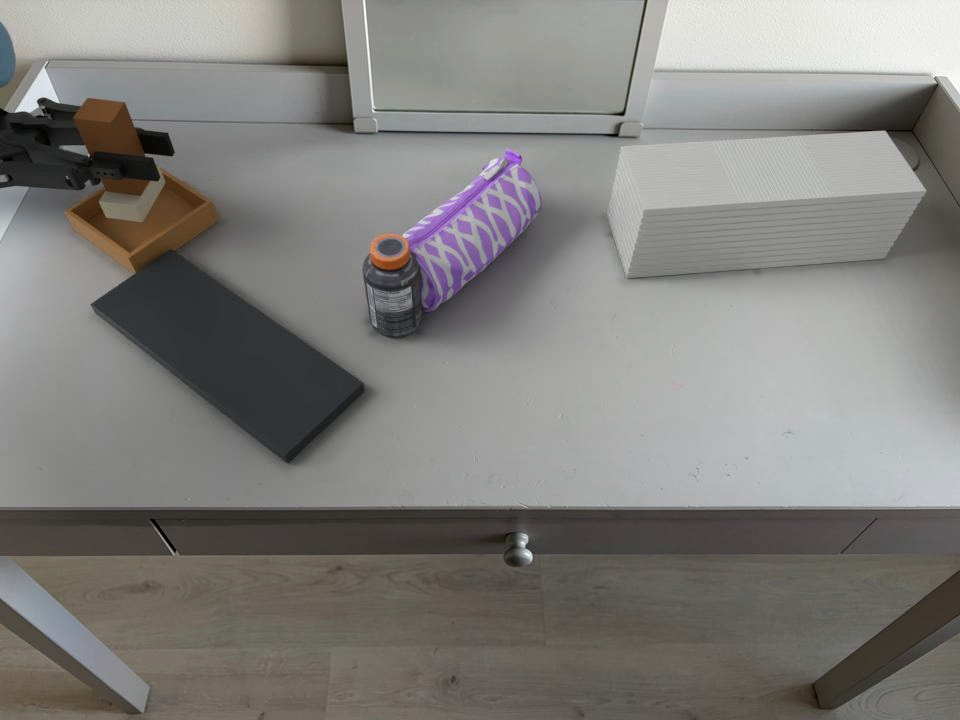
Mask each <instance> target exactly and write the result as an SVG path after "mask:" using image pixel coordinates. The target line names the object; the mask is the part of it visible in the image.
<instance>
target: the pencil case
mask: <svg viewBox="0 0 960 720" xmlns="http://www.w3.org/2000/svg"><path fill="white" fill-rule="evenodd" d="M522 162H523V156H522V154H520V153H519V152H518V151H515V150H513V149H510V148H506V149H505V154H504V156H503V157H497V158H493V159H491V160H489V161H488V162H487V163H486V165H485V166H484V167H482V172H481V173H480V174H479V175H478V176H477V177H475V178H474V179H473V180H472V181H471V182H470V183H469V184H468V185H466V186H465V188H463V189H462V190H461V191H460V192H458V193H457V194H455V195H454V196H453V197H451V198H449V199H447V200H446V201H444V202H443V203H441V204H440V205H439V206H438V207H436V208H435V209H434V210H432V211H431V212H430V213H428V214H427V215H426V216H424V217H422V218H421V219H420V220H419V221H418V222H416V223H415V224H414V225H413V226H412V227H410V228H409V229H408V230H407V231H406V232H404V233H403V234H402V235H401V236H403V237H404V238H405V239H406V240H407V241H408V243H409V248H410V253H413V254H414V255H415V256H416V259H417V261H418V264H419V266H420V277H421V299H422V311H423V313H430V312H432V311H434V310H436V309H437V308H438V307H439V306H440V305H441V304H442V303H446V302H447V301H448V300H450V299H451V298H452V297H454V296H455V295H456V294H457V293H459V291H460V290H462V288H463V287H464V285H466V284H467V283H468V282H470V281H472V280H473V279H474V278H476V277H477V276H478V275H479V274H480V273H482V272H483V271H484V270H485V269H486V268H487V267H488V266H489V265H491V263H493V262H494V261H495V260H496V258H497V257H498V256H499V255H501V254H502V253H503V251H505V250H506V249H507V248H508V246H510V245H511V244H512V243H513V242H514V241H515V240H516V239H517V238H518V237H519V236H521V234H522V233H524V231H525V230H526V229H527V228H528V227H529V226H530V224H531V223H532V221H533V220H534V219H535V218H536V217H537V216H538V215H539V213H540V212H541V209H542V203H543V202H542V201H543V199H542V198H543V197H542V194H541V191H540V189H539V186H538V185H537V182H536V180H535V179H534V177H533V176H532V174H531V173H530V172H529V171H528V170H527V169H526V168H524V167H523V166H521V164H522Z"/></svg>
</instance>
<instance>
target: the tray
mask: <svg viewBox="0 0 960 720" xmlns="http://www.w3.org/2000/svg"><path fill="white" fill-rule="evenodd" d="M156 166H158V167H160V169H161V172H162V174H163V177H164V180H165V182H166V183H165V185H164V186H163V188H162V190H161V192H160V193H159V195H158V197H157V199H156V200H155V202H154V204H153V205H152V207H151V209H150V211H149V212H148V214H147V216H146V218H145V219H144V221H143V222H135V221H128V220H120V219H112V218H106V216H105V214H104V212H103V210H102V208H101V205H100V203H99V200H100V199H101V197H102V196H103V194H104V193H105V188H104V186H102V187H101V188H99V189H97V190H96V191H94V192H93V193H91V194H89V195H88V196H86V197H84V198H83V199H81V200H79V201H78V202H76V203H75V204H73V205H72V206H70V207H68V208H67V209H65V210H64V211H63V212H64V214H65V216H66V217H67V220H68V221H69V223H70V225H71V227H72V229H73V230H74V232H76V233H77V234H79V235H80V236H81V237H83V238H84V239H86V240H87V241H88V242H90V243H91V244H92V245H94V246H95V247H97V248H98V249H99V250H101V251H102V252H103V253H105V254H106V255H108V256H109V257H110V258H112V259H113V260H114V261H116V262H117V263H118V264H120V265H121V266H122V267H124V268H125V269H127V270H129V272H130V273H132V274H133V275H134V274H135V273H136V272H138V271H139V270H141V269H142V268H144V267H145V266H147V265H148V264H150V263H151V262H152V261H154V260H155V259H157V258H158V257H160V256H161V255H163V254H164V253H166V252H167V251H168V250H170V249H172V250H173V251H175V252H176V251H177V250H179V249H180V248H181V247H183V246H184V245H186V244H187V243H189V242H190V241H192V240H193V239H194V238H196V237H197V236H199V235H200V234H202V233H203V232H205V231H206V230H207V229H209V228H210V227H212V226H213V225H215V224H216V223H218V222H219V221H220V217H219V215H218V212H217V209H216V205H215V202H214V200H212V199H211V198H209V197H207V196H206V195H204V194H203V193H201V192H200V191H198V190H196V189H195V188H193V187H192V186H191V185H189V184H187V183H186V182H184V181H183V180H181V179H179V178H178V177H177V176H175V175H173V174H172V173H171V172H168V171H167V170H166V169H164V168H163V167H162V166H159V165H158V164H156Z"/></svg>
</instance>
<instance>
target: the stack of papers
mask: <svg viewBox="0 0 960 720" xmlns="http://www.w3.org/2000/svg"><path fill="white" fill-rule="evenodd" d="M616 165H617V166H616V170H615V173H614V174H615V175H614V180H613V184H612V185H613V186H612V188H611V194H610V199H609V203H608V207H607V208H608V209H607V213H606V218H607V221H608V223H609V228H610V230H611V231H610V232H611V233H612V237H613V241H614V243H615V246H616V249H617V253H618V256H619V260H620V261H621V265H622V269H623V272H624V274H625V275H624V276H625V278H626V279H634V278H648V277H649V278H650V277H661V276H662V277H663V276H672V275H673V276H675V275H688V274H701V273H702V274H703V273H714V272H715V273H716V272H728V271H742V270H755V269H768V268H782V267H794V266H795V267H796V266H808V265H820V264H821V265H822V264H833V263H834V264H836V263H847V262H848V263H849V262H860V261H861V262H862V261H875V260H884V259H886V257H887V255H888V253H889V252H890V250H891V249H892V248H891V247H893V246H894V244H895V242H896V241H897V239H898V238H899V236H900V234H901V233H902V231H903V229H904V228H905V226H906V223H908V222H909V220H910V217H912V215H913V213H914V211H915V210H916V209H917V208H918V204H920V202H921V201H922V199H923V197H924V196H925V195H926V193H927V189H926V187H925V186H924V185H923V183H922V182H921V180H920V179H919V177H918V176H917V174H916V173H915V171H914V170H913V168H912V167H911V166H910V164H909V163H908V162H907V160H906V158H905V157H904V156H903V154H902V152H901V151H900V149H898V147H897V145H896V144H895V142H894V141H893V140H892V137H891V136H890V135H889V134H888V132H887V130H872V131H870V130H869V131H855V132H838V133H821V134H805V135H788V136H787V135H786V136H772V137H771V136H770V137H754V138H753V137H752V138H737V139H722V140H706V141H688V142H669V143H655V144H654V143H653V144H639V145H637V144H636V145H635V144H634V145H621V146H620V149H619V154H618V160H617V164H616Z"/></svg>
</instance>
